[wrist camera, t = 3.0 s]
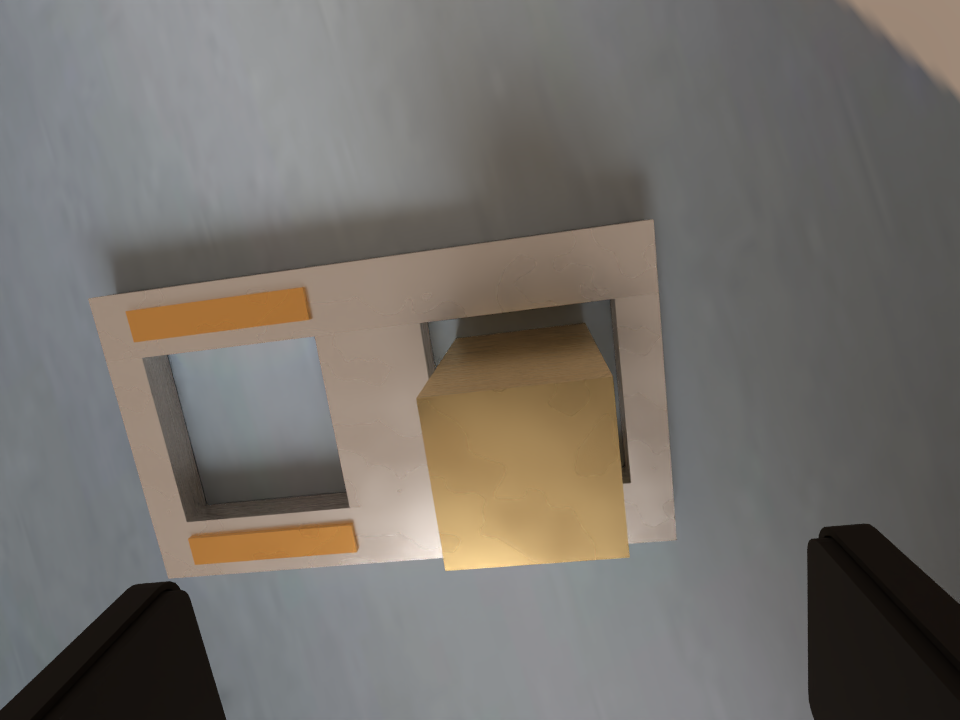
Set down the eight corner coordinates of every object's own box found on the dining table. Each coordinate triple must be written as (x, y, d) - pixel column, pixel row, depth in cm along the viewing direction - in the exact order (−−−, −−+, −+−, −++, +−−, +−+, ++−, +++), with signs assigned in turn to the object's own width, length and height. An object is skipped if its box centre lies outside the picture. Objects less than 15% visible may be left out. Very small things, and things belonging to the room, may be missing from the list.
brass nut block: (584, 322, 22) (612, 376, 14) (597, 445, 23) (629, 557, 15) (456, 338, 23) (415, 398, 15) (474, 457, 24) (445, 570, 16)
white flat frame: (644, 219, 21) (654, 219, 19) (667, 520, 24) (677, 542, 22) (115, 293, 23) (84, 299, 22) (188, 558, 26) (165, 581, 24)
